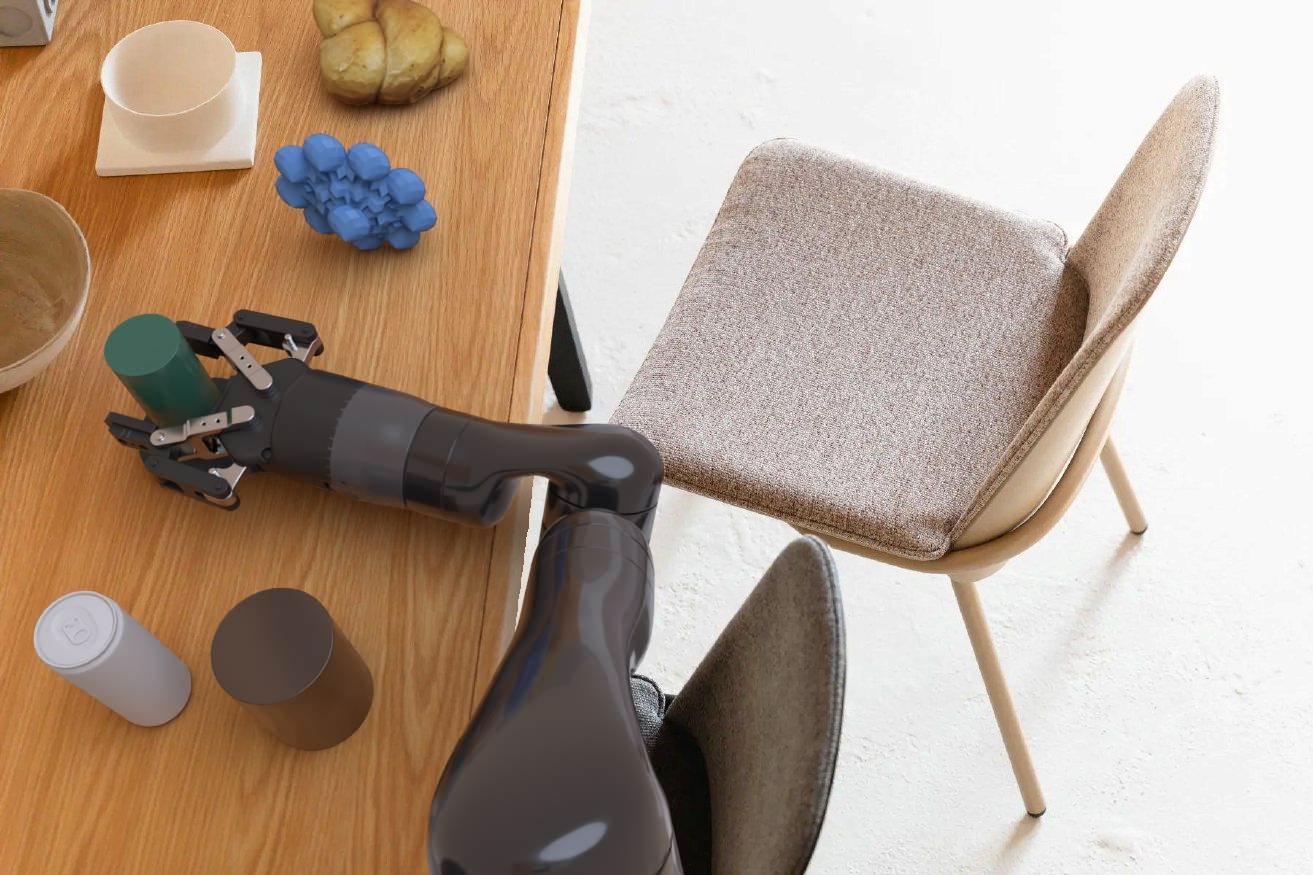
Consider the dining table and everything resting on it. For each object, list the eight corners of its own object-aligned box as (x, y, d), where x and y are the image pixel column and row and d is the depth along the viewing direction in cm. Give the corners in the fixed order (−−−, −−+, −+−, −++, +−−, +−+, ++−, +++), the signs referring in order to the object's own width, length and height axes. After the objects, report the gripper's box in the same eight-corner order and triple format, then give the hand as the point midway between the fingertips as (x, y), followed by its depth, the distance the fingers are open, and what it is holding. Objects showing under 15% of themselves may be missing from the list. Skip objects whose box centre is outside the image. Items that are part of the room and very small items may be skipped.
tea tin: (187, 471, 82) (122, 389, 73) (158, 424, 84) (91, 338, 75) (248, 434, 84) (193, 349, 74) (218, 389, 86) (160, 301, 76)
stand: (297, 773, 73) (245, 730, 64) (245, 686, 76) (188, 633, 67) (394, 705, 75) (356, 654, 66) (339, 623, 78) (296, 564, 69)
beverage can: (169, 642, 77) (89, 571, 67) (210, 692, 76) (135, 628, 65) (106, 692, 76) (14, 628, 65) (146, 745, 74) (58, 688, 63)
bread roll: (478, 43, 104) (464, -33, 97) (464, 123, 99) (447, 50, 92) (336, 40, 105) (311, -36, 98) (315, 120, 100) (287, 46, 93)
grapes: (289, 286, 91) (239, 182, 81) (307, 218, 95) (261, 110, 84) (436, 292, 91) (405, 188, 80) (449, 223, 94) (420, 115, 84)
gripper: (395, 320, 77) (170, 262, 79) (297, 510, 70) (56, 439, 73) (417, 381, 83) (209, 325, 86) (330, 560, 76) (107, 493, 79)
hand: (140, 378), depth 79 cm, fingers open, 7 cm apart
